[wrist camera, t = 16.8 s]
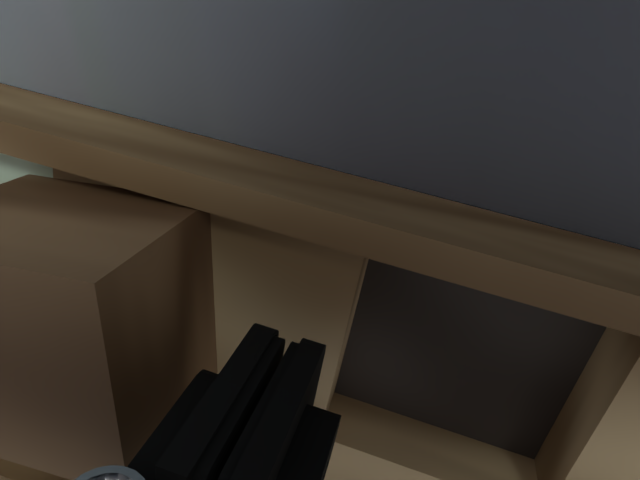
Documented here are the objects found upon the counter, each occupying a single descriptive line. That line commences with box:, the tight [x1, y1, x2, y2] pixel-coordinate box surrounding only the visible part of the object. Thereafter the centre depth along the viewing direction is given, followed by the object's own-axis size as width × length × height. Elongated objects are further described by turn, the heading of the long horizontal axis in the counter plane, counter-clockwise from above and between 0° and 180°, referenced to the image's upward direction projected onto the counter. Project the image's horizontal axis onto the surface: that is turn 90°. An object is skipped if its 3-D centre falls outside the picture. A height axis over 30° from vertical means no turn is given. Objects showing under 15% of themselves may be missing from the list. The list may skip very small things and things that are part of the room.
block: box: [0, 174, 218, 480], centre depth 11 cm, size 5×5×4 cm
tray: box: [0, 83, 640, 480], centre depth 14 cm, size 14×28×4 cm, turn 79°
